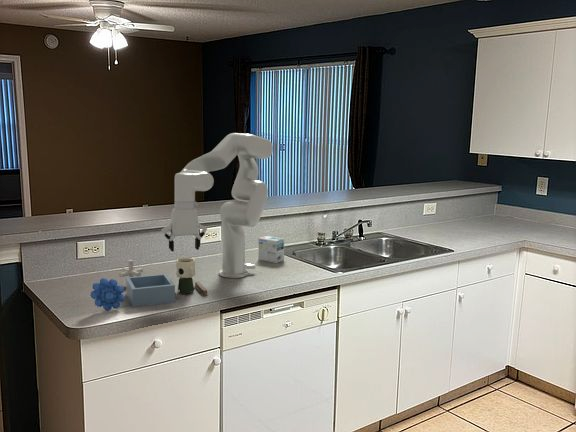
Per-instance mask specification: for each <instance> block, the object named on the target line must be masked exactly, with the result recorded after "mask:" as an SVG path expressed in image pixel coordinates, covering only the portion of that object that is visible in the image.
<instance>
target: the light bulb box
mask: <svg viewBox="0 0 576 432" xmlns="http://www.w3.org/2000/svg"><path fill="white" fill-rule="evenodd" d="M257 256H258V260H257V261H263V262H269V263H273V264H274V263H275V264H278V263H281V262H283V261H285V238H282V237H277V236H276V237H275V236H271V235H270V236H269V235H265V236H261V237H258V255H257Z"/></svg>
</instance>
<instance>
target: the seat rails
mask: <svg viewBox="0 0 576 432" xmlns="http://www.w3.org/2000/svg"><path fill="white" fill-rule="evenodd" d="M194 288H196V289H197V290H198V291H199V293H200V294H201V295H202V296H203V297H205V296H208V289H207V288H206V287H205V286H204V285H203V284H202V283H201V282H200V281H197V280H196V281H194ZM176 299H177V292H175V300H176Z"/></svg>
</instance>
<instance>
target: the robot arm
mask: <svg viewBox="0 0 576 432" xmlns="http://www.w3.org/2000/svg"><path fill="white" fill-rule="evenodd" d="M273 152H274V147H273V143H272V141H271V140H270V139H268V138H264V137H262V136H258V135H255V134H251V133H241V132H239V133H238V132H231V133H229V134H227V135H226V136H224V138H223V139H222V140H220V142H219V143H218V144H217V145H216V146H215V147H213V149H212V150H211V151H209V152H207V153H205V154H202V155H201V156H199V157H197V158H194V159H192V160H191V161H189V162H188V163H187V164H186V165H185V166H184V168H182V170H181V171H180V172H177V173H175V174H174V208H172V210H171V215H170V224H168V225H167V226H165V227H163V228H161V232H162V234H163V236H164V237H165V239H167V240H168V249H169V250H170V251H171V252H175V242H174V239H175V238H176V237H183V236H185V237H186V236H195V239H194V248H195V250H197V251H199V249H200V248H201V240H202V238H203V237H204V236H205V234H206V232H207V230H208V227H207V226H204V225H202V224H201V223H199V217H198V211H197V208H196V207H197V206H199V205H200V204H199V202H198V201H196V192H206V191H209V190H210V189H212V187H213V186H214V182H215V180H214V177H213V175H212V174H211V173H210V172H215V171H219V170H223V169H225V168H227V167H228V166H229V164H230V163H231V162H232V161H233V160H234V159H235V158H236V157H238V161H239V169H238V171H237V174H236V178H235V180H234V182H233V183H234V184H233V185H232V189H231V197H232V198H233V199H234V200H236V201H233V200H232V201H227V202H224V203H223V204H222V205H221V207H220V210H219V217H220V221H221V227H222V229H221V230H222V231H221V232H222V248H221V249H222V253H221V254H222V258H221V259H222V261H221V262H222V269H219V271H218V275H219V277H222V278H227V279H239V278H240V279H241V278H245V277H246V276H248V275H249V270H255V269H256V264H251V263H246V261H245V258H246V256H245V252H246V250H245V248H246V247H245V245H246V243H245V241H246V234H245V229H244V227H248V228H251V227H255V226H257V224H258V223H259V222H260V219H261V216H262V214H263V211H264V208H265V206H266V203H267V199H268V196H269V188H268V185H267V184H266V183H265V182H264V181H261V180H257V179H258V176H259V167H258V163H257V162H256V159H261V160H267V159H269V158H270V157H271V156H272V155H273ZM238 201H239V202H238ZM240 201H241V202H240ZM199 229H201V231H200V232H199ZM167 231H169V232H170V234H168V232H167Z"/></svg>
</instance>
